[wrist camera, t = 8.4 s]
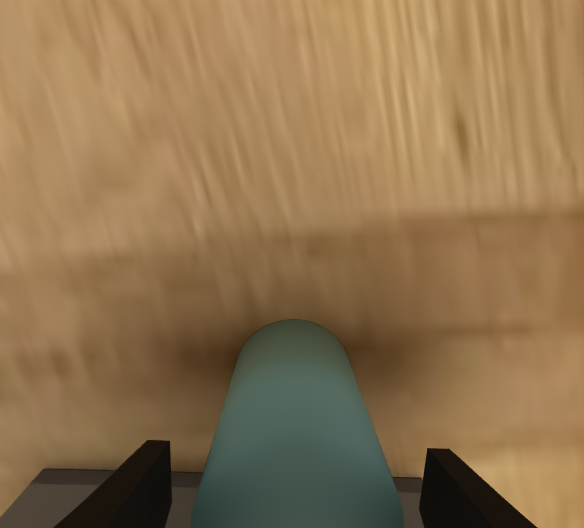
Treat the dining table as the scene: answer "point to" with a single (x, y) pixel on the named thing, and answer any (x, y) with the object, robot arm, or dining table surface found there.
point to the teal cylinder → (295, 441)
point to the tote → (81, 483)
